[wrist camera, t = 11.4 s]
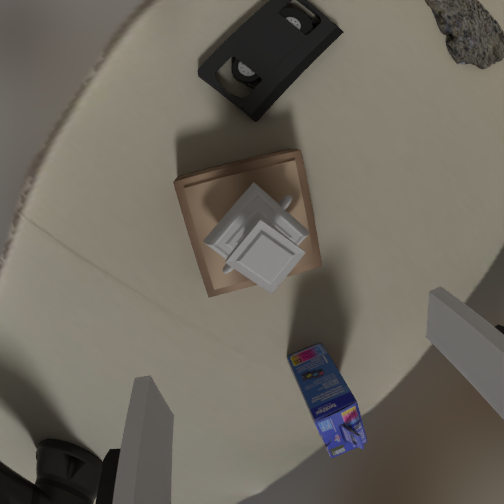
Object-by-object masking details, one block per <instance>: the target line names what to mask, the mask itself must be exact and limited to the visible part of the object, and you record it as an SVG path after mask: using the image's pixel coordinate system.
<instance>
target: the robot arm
mask: <svg viewBox="0 0 504 504" xmlns="http://www.w3.org/2000/svg"><path fill="white" fill-rule="evenodd" d="M426 337H427V338H428V339H429V340H430V341H431V342H432V343H433V344H434V345H435V346H436V348H438V349H439V350H440V352H441V353H442V354H443V355H444V356H445V357H446V358H447V359H448V360H449V361H450V362H451V363H452V364H453V365H454V366H455V367H456V368H457V369H458V370H459V371H460V372H461V373H462V375H463V376H464V377H465V378H466V379H467V380H468V381H469V382H470V383H471V384H472V385H473V386H474V387H475V388H476V390H477V391H478V392H479V393H480V394H481V395H482V396H483V397H484V398H485V399H486V400H487V402H488V403H489V404H490V405H491V406H492V407H493V408H494V409H495V410H496V412H497V413H498V414H499V415H500V416H501V417H502V418H503V419H504V327H503V326H501V325H497V326H495V327H494V326H492V325H491V324H490V323H488V322H487V321H486V320H485V319H483V318H482V317H481V316H480V315H478V314H477V313H476V312H474V311H473V310H472V309H471V308H469V307H468V306H467V305H465V304H464V303H463V302H461V301H460V300H459V299H457V298H456V297H455V296H453V295H452V294H451V293H449V292H448V291H446V290H445V289H444V288H442V287H439V288H436V289H434V290H432V291H429V303H428V319H427V332H426ZM173 420H174V415H173V413H172V412H171V410H170V408H169V407H168V405H167V403H166V402H165V400H164V398H163V397H162V395H161V393H160V391H159V390H158V388H157V386H156V385H155V383H154V381H153V379H152V377H151V376H144V377H139V378H135V380H134V385H133V389H132V394H131V398H130V403H129V408H128V413H127V418H126V423H125V428H124V433H123V439H122V444H121V449H110V450H109V452H108V453H107V455H106V456H105V458H104V460H103V463H102V462H101V461H100V460H99V459H98V458H97V457H95V456H94V455H93V454H91V453H89V452H88V451H86V450H84V449H82V448H80V447H78V446H75V445H73V444H70V443H67V442H64V441H60V440H52V439H48V440H43V441H41V442H40V443H39V446H38V448H37V451H36V459H37V479H36V482H35V484H33V483H32V482H30V481H29V480H27V479H25V478H24V477H22V476H21V475H19V474H18V473H16V472H15V471H13V470H12V469H11V468H9V467H8V466H6V465H5V464H4V463H2V462H1V461H0V504H93V503H94V500H95V498H96V497H97V498H96V504H171V473H172V442H173Z"/></svg>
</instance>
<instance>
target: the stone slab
mask: <svg viewBox="0 0 504 504" xmlns="http://www.w3.org/2000/svg"><path fill="white" fill-rule="evenodd" d="M425 1H426V3H427V5H428V6H429V7H430V8H431V9H432V12H433V14H434V16H435V18H436V21H437V24H438V26H439V29H440V31H441V32H442V33H443V34H445V35H447V34H451V35H452V40H449V41H446V46H447V48H448V51H449V53H450V54H451V55H452V58H453V59H454V60H455V62H456V63H457V64H469V63H471V64H473V65H476V66H477V67H479V68H481V69H486V68H488V67H490V66H491V64H495V63H496V62H499V61H502V59H503V58H504V32H503V30H502V29H501V27H500V25H499V24H498V23H497V21H496V20H495V19H494V18H493V17H492V16H491V15H490V14H489V12H488V11H487V10H486V9H485V8H484V6H483V5H482V4H481V3H480V2H479V1H478V0H425Z"/></svg>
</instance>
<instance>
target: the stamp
mask: <svg viewBox="0 0 504 504" xmlns="http://www.w3.org/2000/svg"><path fill="white" fill-rule="evenodd" d="M291 201H292V196H290V195H286V196H285V197H284V198H283V199H282V200H281V201H280V202H279V203H277V202H276V201H275V200H274V199H273V198H271V197H270V196H269V195H268V194H267V193H266V192H265V191H264V190H262V189H261V188H260V187H259V186H258V185H257V184H255V183H254V182H253V183H252V185H251V186H250V187H249V188H248V189H247V190H246V191H245V193H244V194H243V195H242V196H241V197H240V198H239V199H238V201H237V202H236V203H235V204H234V205H233V206H232V207H231V209H230V210H229V211H228V212H227V213H226V214H225V216H224V217H223V218H222V219H221V220H220V221H219V223H218V224H217V225H216V226H215V227H214V228H213V230H212V231H211V232H210V233H209V234H208V236H207V237H206V238H205V239H204V240H203V241H204V243H205V244H206V245H208V246H209V247H210V248H212V249H213V250H214V251H215V252H217V253H218V254H219V255H221V256H222V257H223V258H225V259H226V262H225V263H226V264H225V266H224V267H223V273H224V274H227V273H229V272H231V271H232V270H233V269H235V270H237V271H238V272H240V273H241V274H243V275H244V276H246V277H247V278H249V279H250V280H252V281H253V282H255V283H256V284H258V285H259V286H261V287H262V288H264V289H265V290H267V291H268V292H270V293H271V294H272V293H273V292H274V291H275V290H276V289H277V287H278V286H279V285H280V284H281V282H282V281H283V280H284V279H285V278H286V276H287V275H288V274H289V273H290V271H291V270H292V269H293V268H294V267H295V265H296V264H297V263H298V262H299V260H300V259H301V258H302V257H303V255H304V254H305V253H306V252H305V251H303V250H302V249H301V248H300V247H299V246H298V245H299V244H300V243H301V242H302V241H303V240H304V239H305V238H306V237H307V236H308V234H309V231H308V230H307V229H306V228H305V227H304V226H303V225H302V224H301V223H300V222H298V221H297V220H296V219H295V218H294V217H293V216H292V215H291V214H290V213H288V212H287V211H286V208H287V207H288V206H289V204H290V203H291Z"/></svg>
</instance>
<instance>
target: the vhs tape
mask: <svg viewBox="0 0 504 504" xmlns="http://www.w3.org/2000/svg"><path fill="white" fill-rule="evenodd" d="M291 1H292V0H270V1H269V2H268V3H266V4H265V5H264V6H263V7H262V8H261V9H260V10H258V11H257V12H256V13H255V14H254V15H253V16H252V17H251V18H249V19H248V20H247V21H246V22H245V23H244V24H243V25H242V26H241V27H240V28H239V29H238V30H236V31H235V32H234V33H233V34H232V35H231V36H230V37H229V38H228V39H227V40H226V41H225V42H224V43H223V44H222V45H221V46H220V47H219V48H218V49H217V50H216V51H215V52H214V53H213V54H212V55H211V56H210V57H209V58H208V59H207V60H206V61H205V62H204V64H203V65H202V66H201V67H200V68H199V69H198V76H199V77H200V78H201V79H202V80H204V81H205V82H206V83H208V84H209V85H210V86H212V87H213V88H214V89H216V90H217V91H218V92H219V93H221V94H222V95H223V96H224V97H226V98H227V99H228V100H229V101H231V102H232V103H233V104H234V105H236V106H237V107H238V108H239V109H241V110H242V111H243V112H244V113H246V114H247V115H248V116H249V117H250V118H252V119H253V120H254V121H255V122H256V121H258V120H259V119H260V118H261V117H262V116H263V114H264V113H265V112H266V111H267V110H268V109H269V108H270V107H271V106H272V105H273V103H274V102H275V101H276V100H277V99H278V98H279V97H280V96H281V95H282V94H283V93H284V92H285V91H286V89H287V88H288V87H289V86H290V85H291V84H292V83H293V82H294V81H295V80H296V79H297V78H298V77H299V76H300V75H301V74H302V73H303V72H304V70H305V69H307V68H308V67H309V66H310V65H311V64H312V63H313V62H314V60H315V59H316V58H317V57H318V56H319V55H320V54H322V53H323V52H324V51H325V50H326V49H327V48H328V47H329V46H330V45H331V44H332V43H333V42H334V41H335V40H336V39H337V38H338V37H339V36H340V35H341V34H342V33H343V31H342V30H341V29H340V28H339V27H338V26H337V25H336V24H334V23H332V22H331V21H329V20H330V19H328V18H327V17H326V16H325V15H324V14H323V13H321V12H320V11H319V10H318V9H317V8H316V7H314V6H313V5H312V4H311V3H309V2H308V1H307V0H297V1H298V2H300V3H301V4H302V5H304V6H305V7H306V8H307V9H308V10H310V11H311V12H312V13H313V14H314V15H316V16H317V17H318V18H319V19H320V20H321V23H320V24H319V25H318V24H317V23H316V22H314V21H313V20H312V19H311V18H310V17H309V16H307V15H306V14H305V13H304V12H302V11H300V10H298V9H295V8H284V7H285V6H286V5H287V4H288V3H289V2H291ZM282 8H283V9H282ZM313 27H314V28H315V29H314V30H313ZM231 56H234V57H235V58H236V59H235V61H234V63H233V65H232V74H233V77H234V78H235V79H236V80H237V81H239V82H241V83H243V84H245V85H246V86H248V87H250V88H252V89H253V91H252V92H251V93H250V94H249V95H248V96H247V97H245V98H240V97H237V96H234V95H232V94H230V93H229V92H227V91H226V90H225V89H224V88H223V87H222V86H221V85H220V84H219V82H218V81H217V79H216V77H215V74H216V72H217V71H218V70H219V69H220V68H221V67H222V66H223V65H224V63H225V62H226V61H227V60H228V59H229V58H230V57H231ZM259 77H260V78H262V81H261V82H260V83H259V84H258V85H257V86H256V87H253V86H251V85H249V84H248V83H252V82H254V81H256V80H257V79H258V78H259Z"/></svg>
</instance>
